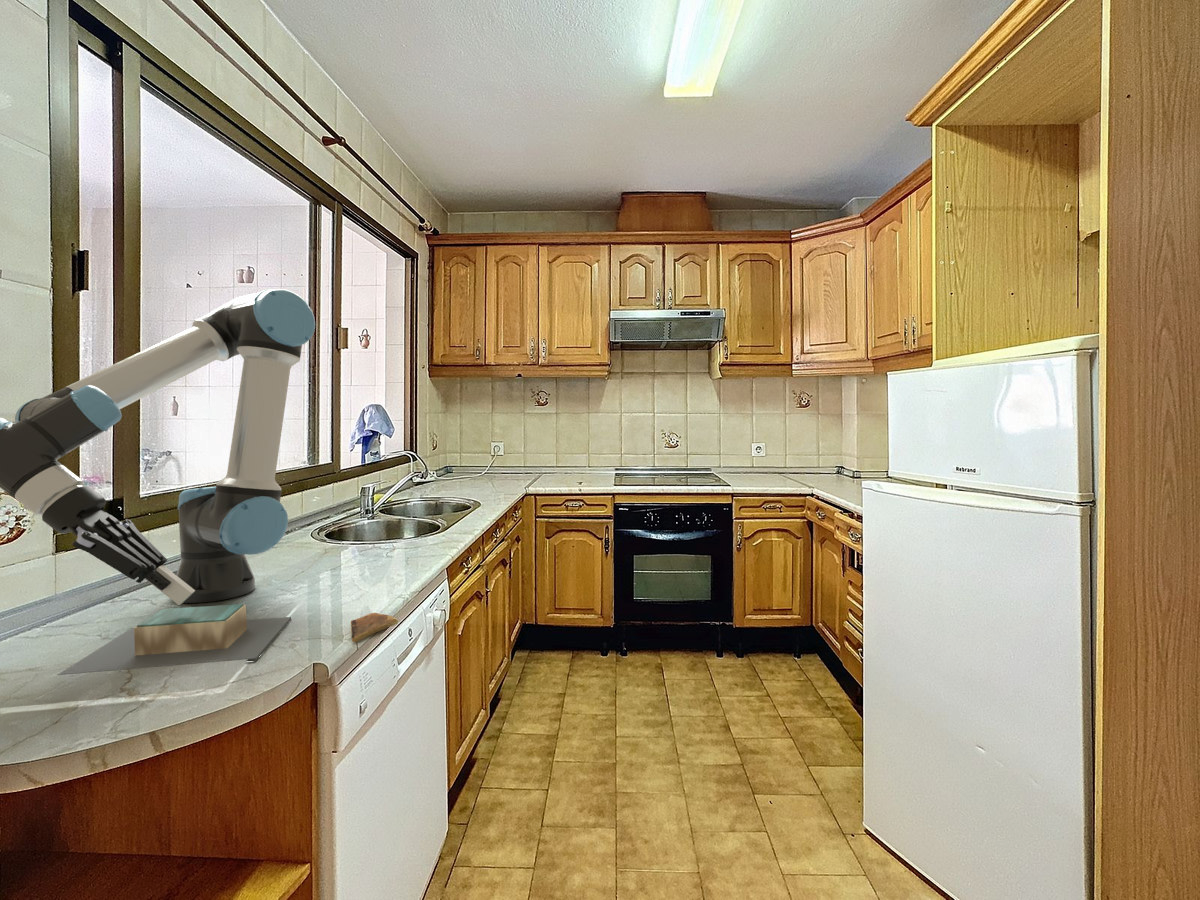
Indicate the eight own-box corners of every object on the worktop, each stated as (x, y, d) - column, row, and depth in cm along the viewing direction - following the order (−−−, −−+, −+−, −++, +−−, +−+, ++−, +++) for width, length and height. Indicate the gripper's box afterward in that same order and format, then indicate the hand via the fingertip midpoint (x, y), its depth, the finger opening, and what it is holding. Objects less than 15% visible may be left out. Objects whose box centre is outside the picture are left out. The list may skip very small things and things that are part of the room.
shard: (352, 646, 101) (352, 635, 101) (320, 639, 104) (320, 629, 104) (399, 626, 111) (399, 616, 110) (369, 620, 114) (368, 611, 114)
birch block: (133, 626, 94) (226, 619, 97) (161, 608, 103) (245, 603, 106) (135, 655, 94) (227, 648, 97) (162, 635, 103) (246, 629, 106)
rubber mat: (58, 678, 87) (57, 674, 87) (131, 631, 107) (131, 628, 107) (255, 661, 93) (255, 658, 93) (291, 620, 113) (291, 616, 113)
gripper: (70, 512, 101) (187, 603, 105) (14, 525, 88) (149, 628, 93) (106, 479, 102) (219, 571, 106) (55, 488, 89) (187, 591, 94)
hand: (187, 597), depth 100 cm, fingers closed
